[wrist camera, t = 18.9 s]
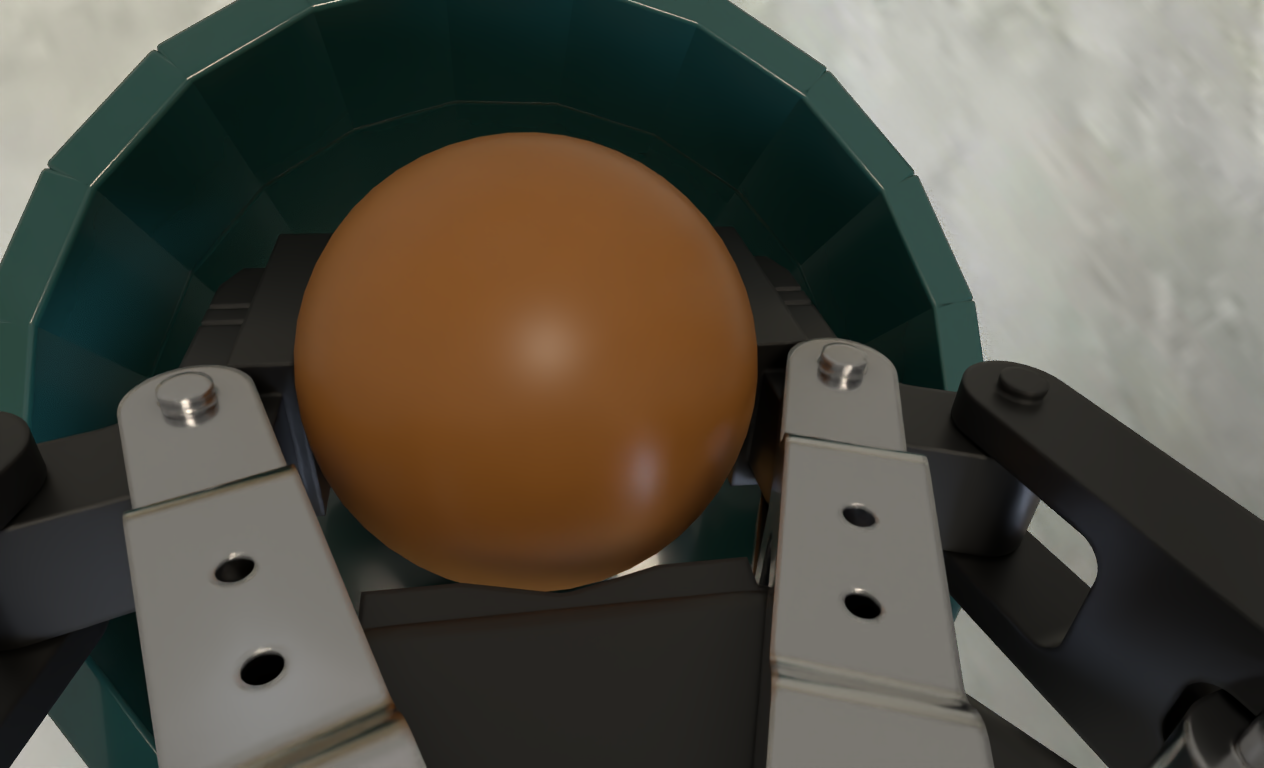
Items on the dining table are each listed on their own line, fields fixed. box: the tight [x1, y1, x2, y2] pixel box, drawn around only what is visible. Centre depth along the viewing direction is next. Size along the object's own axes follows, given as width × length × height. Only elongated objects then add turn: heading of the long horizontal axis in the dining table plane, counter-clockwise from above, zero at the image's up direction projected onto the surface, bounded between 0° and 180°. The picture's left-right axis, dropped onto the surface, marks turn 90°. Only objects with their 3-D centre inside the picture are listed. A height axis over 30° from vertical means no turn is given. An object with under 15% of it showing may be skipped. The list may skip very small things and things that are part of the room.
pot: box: [0, 0, 983, 768], centre depth 15 cm, size 13×13×8 cm
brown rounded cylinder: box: [294, 132, 758, 592], centre depth 12 cm, size 5×5×10 cm
